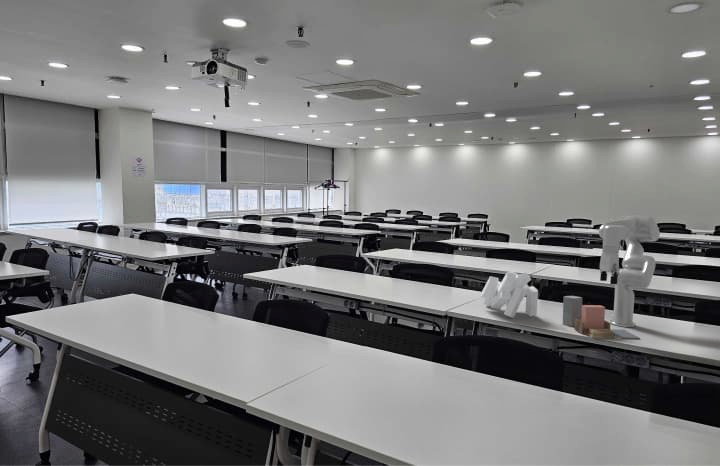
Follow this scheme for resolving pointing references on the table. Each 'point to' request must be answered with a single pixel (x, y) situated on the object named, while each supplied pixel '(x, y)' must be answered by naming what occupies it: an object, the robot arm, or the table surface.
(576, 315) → the skincare box
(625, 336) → the slate mat
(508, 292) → the pile of blocks
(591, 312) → the pink block
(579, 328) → the rack
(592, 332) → the offcut stack
